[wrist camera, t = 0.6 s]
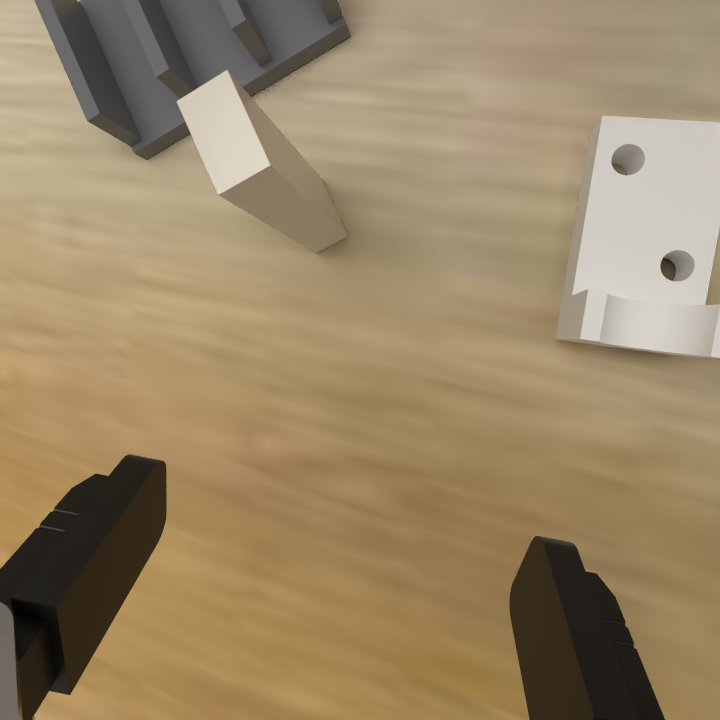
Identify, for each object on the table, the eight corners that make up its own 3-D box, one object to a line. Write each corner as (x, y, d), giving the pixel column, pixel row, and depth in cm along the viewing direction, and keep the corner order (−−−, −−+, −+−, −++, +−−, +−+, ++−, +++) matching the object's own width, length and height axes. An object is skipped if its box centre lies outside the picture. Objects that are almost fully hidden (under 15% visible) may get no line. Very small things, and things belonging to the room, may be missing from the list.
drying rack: (84, 20, 40) (18, -36, 34) (280, -115, 36) (244, -203, 30) (146, 159, 39) (90, 127, 33) (350, 36, 36) (328, -24, 30)
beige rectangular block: (290, 196, 37) (176, 101, 22) (322, 179, 36) (227, 69, 22) (316, 253, 37) (218, 194, 22) (348, 236, 36) (270, 165, 21)
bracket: (670, 355, 33) (731, 359, 25) (554, 339, 34) (579, 338, 27) (708, 147, 32) (783, 88, 24) (587, 139, 33) (623, 81, 26)
